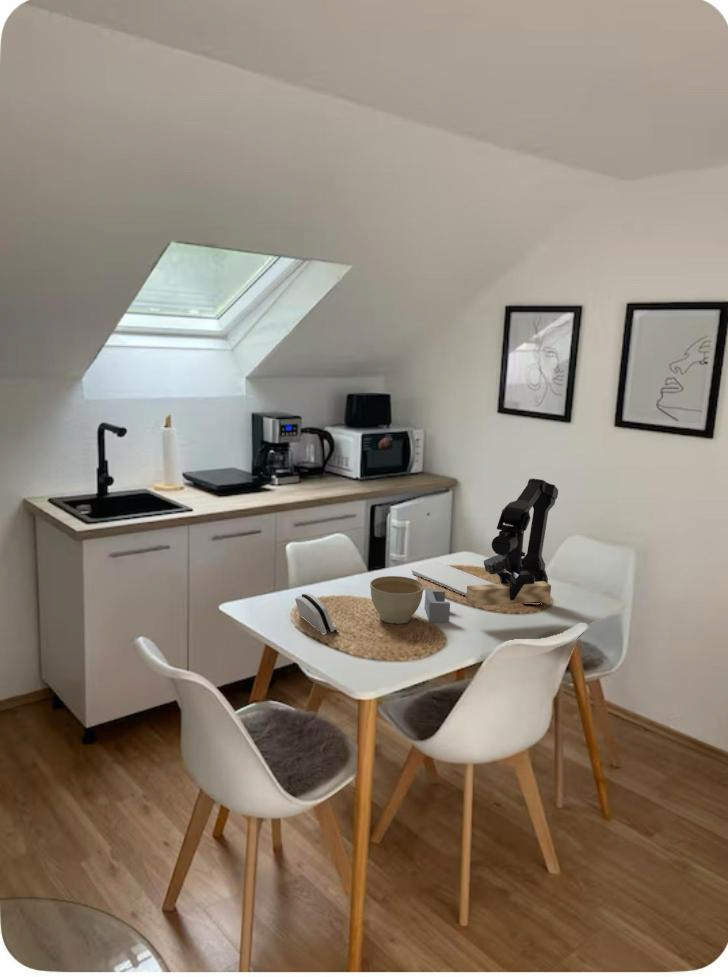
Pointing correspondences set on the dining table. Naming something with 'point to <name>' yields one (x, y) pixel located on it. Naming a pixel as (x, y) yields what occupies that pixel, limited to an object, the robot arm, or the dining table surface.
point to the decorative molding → (448, 576)
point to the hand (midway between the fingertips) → (508, 597)
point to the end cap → (436, 606)
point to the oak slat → (507, 594)
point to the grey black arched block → (315, 612)
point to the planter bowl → (396, 597)
